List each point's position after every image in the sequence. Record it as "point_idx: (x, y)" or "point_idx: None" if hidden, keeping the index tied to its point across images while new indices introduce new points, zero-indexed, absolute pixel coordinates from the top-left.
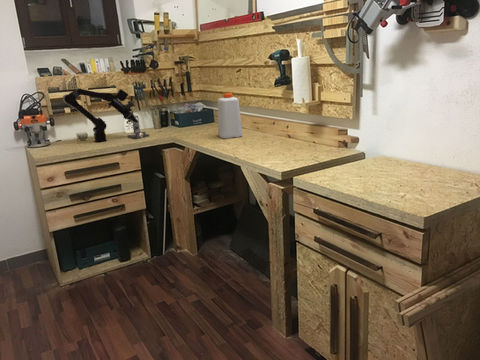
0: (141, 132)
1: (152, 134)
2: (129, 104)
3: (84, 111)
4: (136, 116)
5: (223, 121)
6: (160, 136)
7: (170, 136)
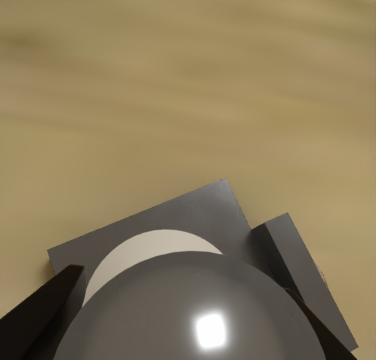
0: (315, 266)
1: (131, 138)
2: None
3: None
4: (292, 331)
5: None
6: (287, 94)
7: (330, 29)
